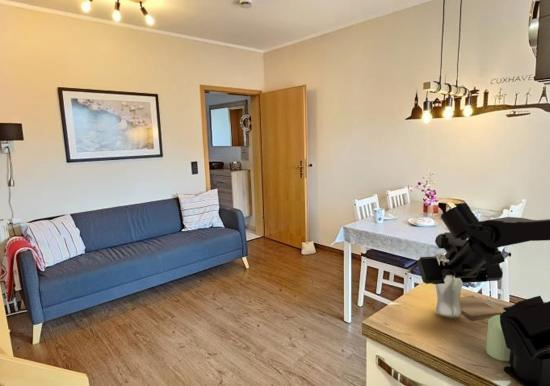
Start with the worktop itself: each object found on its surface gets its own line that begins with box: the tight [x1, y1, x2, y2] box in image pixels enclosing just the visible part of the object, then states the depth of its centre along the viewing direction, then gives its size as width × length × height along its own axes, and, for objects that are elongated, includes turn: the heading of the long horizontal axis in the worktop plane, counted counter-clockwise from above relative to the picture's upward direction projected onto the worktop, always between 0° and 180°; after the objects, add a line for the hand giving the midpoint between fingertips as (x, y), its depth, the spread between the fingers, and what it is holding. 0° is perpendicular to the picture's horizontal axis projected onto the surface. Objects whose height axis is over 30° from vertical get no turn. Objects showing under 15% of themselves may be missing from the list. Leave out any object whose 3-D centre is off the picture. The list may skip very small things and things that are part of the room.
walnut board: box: [460, 295, 503, 321], centre depth 94 cm, size 10×9×1 cm
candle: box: [485, 315, 510, 362], centre depth 74 cm, size 5×5×8 cm
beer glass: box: [433, 252, 464, 319], centre depth 89 cm, size 7×7×15 cm
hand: (445, 281), depth 90 cm, fingers closed on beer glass, 6 cm apart
